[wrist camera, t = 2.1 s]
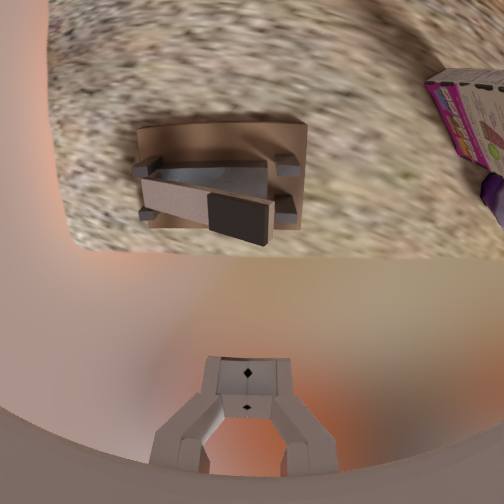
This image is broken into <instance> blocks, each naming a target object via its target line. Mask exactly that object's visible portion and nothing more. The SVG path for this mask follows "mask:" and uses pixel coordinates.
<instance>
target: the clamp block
mask: <svg viewBox="0 0 504 504" xmlns="http://www.w3.org/2000/svg"><path fill="white" fill-rule="evenodd" d="M275 166H276V171H277V176H293V177H300V171H301V165H300V164H299V162H298V160H297V158H296V156H295V154H276V153H275ZM154 171H156V178H160V179H166V180H171V181H177V182H183V183H188V184H193V185H199V186H204V187H209V188H214V189H219V190H224V191H229V192H234V193H239V194H243V195H248V196H253V197H257V198H262V199H266V200H267V184H268V163H267V161H260V160H216V161H184V162H165V163H163V158H162V156H150V157H147V158H146V159H144V160H143V161H141V162H140V163H138V164H137V165H135V166H134V167H132V172H133V178H135V177H148V176H149V175H151V174H152V173H153V172H154ZM274 201H275V204H274V213H275V223H293V224H297V210H296V207H295V203H294V200H293V196H292V195H274ZM160 212H161V211H157V210H154V209H150V208H147V207H145V205H144V206H143V207H142V208H141V209H140V210H139V218H140V221H147V220H155V219H156V217H157V216H158V215H159V213H160Z"/></svg>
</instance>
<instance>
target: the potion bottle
mask: <svg viewBox="0 0 504 504" xmlns="http://www.w3.org/2000/svg"><path fill="white" fill-rule="evenodd" d="M480 197H481V199H482V201H483V203H484V204H485V206H487V207H488V208H489V209H490V211H491V212H492V213H493V214H494V216H495V217H496V219H497V221H498V223H499V225H500V226H501V227H502V229H503V230H504V178H502V177H500V176H499V175H497V174H495V173H489V174H488V176H487V177H486V178H485V180H484V181H483V182H482V187H481V195H480Z"/></svg>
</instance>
